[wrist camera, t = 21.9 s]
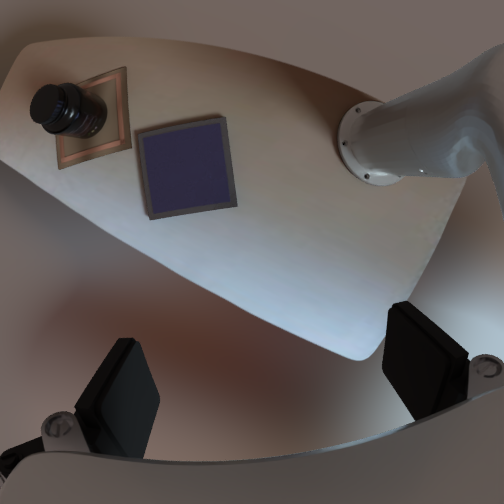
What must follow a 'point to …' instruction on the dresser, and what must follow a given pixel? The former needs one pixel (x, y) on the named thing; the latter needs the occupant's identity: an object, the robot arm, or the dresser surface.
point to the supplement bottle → (68, 111)
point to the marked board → (114, 129)
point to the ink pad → (187, 168)
